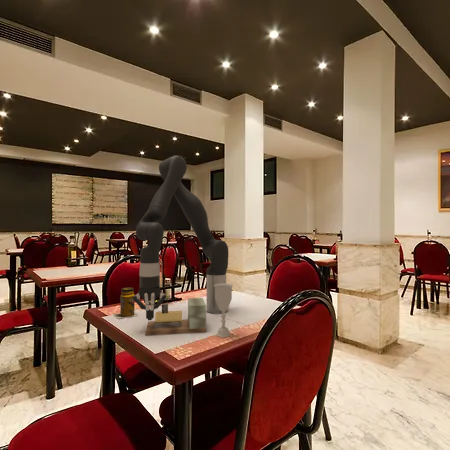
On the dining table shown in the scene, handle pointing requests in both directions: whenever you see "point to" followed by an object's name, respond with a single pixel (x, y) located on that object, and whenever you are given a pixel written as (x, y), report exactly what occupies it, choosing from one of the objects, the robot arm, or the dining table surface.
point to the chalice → (223, 304)
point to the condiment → (126, 303)
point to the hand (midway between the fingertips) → (149, 319)
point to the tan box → (168, 315)
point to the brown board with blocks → (190, 325)
